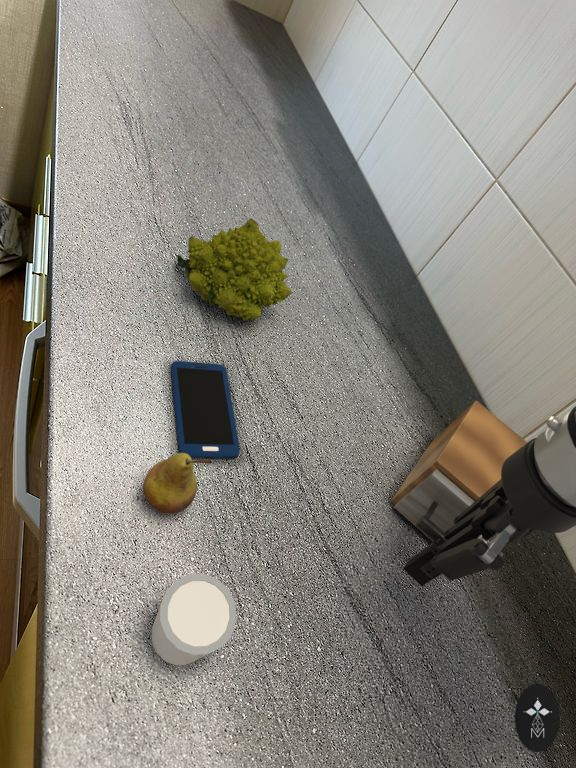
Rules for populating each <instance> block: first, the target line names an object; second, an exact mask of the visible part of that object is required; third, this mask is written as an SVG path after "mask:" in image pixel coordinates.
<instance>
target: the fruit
mask: <svg viewBox="0 0 576 768" xmlns="http://www.w3.org/2000/svg"><path fill="white" fill-rule="evenodd" d="M198 463H199V464H213V461H212V459H211V458H208V459H193V458H191V457H190V455H188V454H186V453H179V452H178V453H175V454H172V455H171V456H170V457H168V458H165V459H162V460H160V461H159V462H156V463H155V464H154V465H153V466H152V467H151V468H150V469H149V471H148V472H147V474H146V475H145V478H144V479H143V480H144V481H143V483H142V494H143V496H144V500H145V501H146V503H147V504H148V505H149V506H150V508H152V509H153V510H154V511H157V512H158V513H161V514H165V515H173V514H178V513H180V512H182V511H185V510H186V509H187V508H189V506H191V504H192V503H193V502H194V500H195V498H196V495H197V491H198V481H197V477H196V475H195V472H194V464H198Z"/></svg>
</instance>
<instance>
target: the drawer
mask: <svg viewBox="0 0 576 768" xmlns="http://www.w3.org/2000/svg"><path fill="white" fill-rule="evenodd" d="M474 502H475V500H474V499H473V498H472V497H470V496H469V495H468V494H467V493H466V492H465V491H463V490H462V489H461V488H460V487H459V486H458V485H456V484H455V483H454V482H453V481H452V480H451V479H449V478H448V477H447V476H446V475H445V474H444V473H442V472H441V471H440V470H438V469H435V470H434V471H433V472H432V473H430V474H429V475H428V476H427V477H426V478H424V479H423V480H422V481H421V482H420V483H419V484H417V485H416V486H415V487H414V488H413V489H412V490H410V491H409V492H408V493H407V494H406V495H405V496H403V497H402V498H401V499H400V500H399V501H398V502H397V503H396V505H394V506H393V508H394V509H395V510H396V511H397V512H398V513H400V514H401V515H402V516H403V517H404V518H405V519H406V520H408V521H409V522H410V523H411V524H412V525H413V526H414V527H416V528H417V530H419V531H420V532H421V533H423V535H424V536H426V537H427V538H428V539H429V540H430V541H432V542H433V541H434V540H435V541H436V540H438V539H439V538H442V539H443V538H445V537H444V534H445V531H446V530H448V529H450V528H451V527H452V526H454V525H455V524H454V523H453V522H454V519H455V517H456V516H458V515H460V514H461V513H462V512H463V511H464V510H465V509H467V508H468V507H469V506H470V505H471V504H472V503H474Z"/></svg>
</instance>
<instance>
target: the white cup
mask: <svg viewBox="0 0 576 768" xmlns="http://www.w3.org/2000/svg"><path fill="white" fill-rule="evenodd" d="M236 623H237V605H236V601H235V600H234V598H233V595H232V593H231V591H230V589H229V588H227V586H226V585H225V584H224V583H223V582H222V581H220V580H219V579H218V578H215V577H213V576H210V575H209V574H206V573H190V574H188V575H187V574H186V575H185V576H183V577H180V578H178V579H176V580H175V581H174V582H173V583H172V584H171V585H170V586H169V588H167V590H166V591H165V593H164V595H163V598H162V601H161V602H160V605H159V608H158V610H157V613H156V616H155V618H154V622H153V624H152V627H151V643H152V646H153V649H154V651H155V653H156V654H157V655H158V656H159V657H160V659H162V660H163V661H164V662H166V663H167V664H168V663H169V664H171V665H174V666H187V665H189V664H191V663H193V662H195V661H197V660H200V659H202V658H203V657H205V656H207V655H209V654H211V653H213V652H216V650H219V649H221V648H222V647H224V645H225V644H226V643H227V641H228V640H229V639H230V638H231V637H232V635H233V633H234V629H235V627H236Z"/></svg>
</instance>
